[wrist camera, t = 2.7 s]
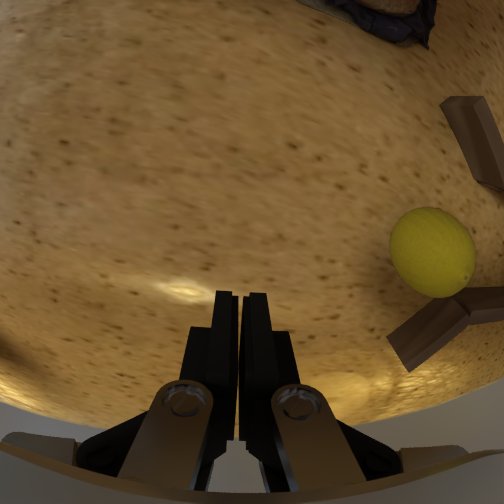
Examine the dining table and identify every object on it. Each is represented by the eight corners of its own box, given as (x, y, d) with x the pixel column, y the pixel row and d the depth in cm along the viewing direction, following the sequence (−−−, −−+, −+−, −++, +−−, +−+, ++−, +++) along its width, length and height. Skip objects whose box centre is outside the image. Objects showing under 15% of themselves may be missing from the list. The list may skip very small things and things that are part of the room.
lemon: (442, 216, 21) (507, 257, 14) (407, 273, 23) (460, 329, 15) (397, 181, 20) (467, 213, 12) (359, 245, 22) (410, 303, 14)
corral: (440, 92, 17) (473, 91, 13) (545, 147, 18) (572, 155, 15) (382, 345, 26) (399, 374, 22) (492, 331, 27) (510, 350, 23)
